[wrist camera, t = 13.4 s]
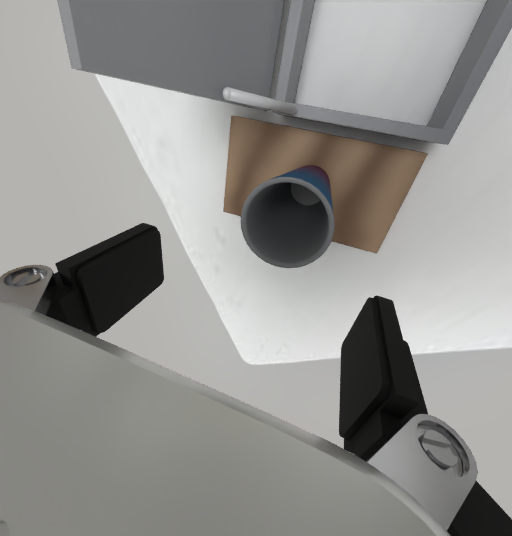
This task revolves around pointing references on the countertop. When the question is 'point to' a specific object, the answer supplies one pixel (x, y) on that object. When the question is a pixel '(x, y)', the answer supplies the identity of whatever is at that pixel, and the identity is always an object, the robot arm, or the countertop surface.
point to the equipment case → (437, 131)
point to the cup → (290, 217)
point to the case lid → (177, 43)
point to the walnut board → (337, 168)
